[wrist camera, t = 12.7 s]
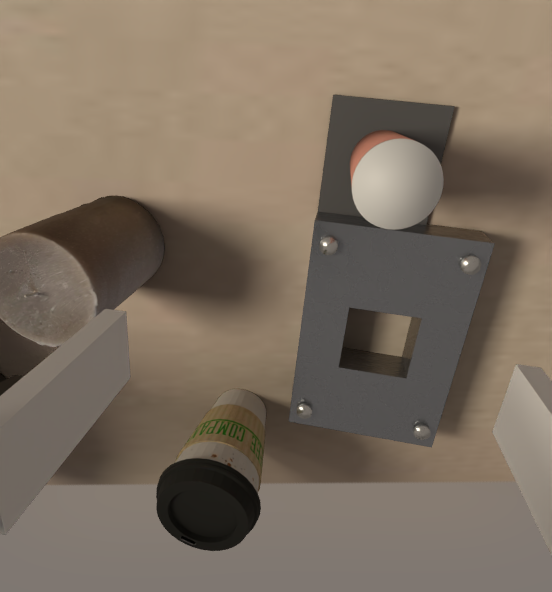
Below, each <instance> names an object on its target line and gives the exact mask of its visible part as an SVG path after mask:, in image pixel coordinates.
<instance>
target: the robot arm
mask: <svg viewBox="0 0 552 592" xmlns="http://www.w3.org/2000/svg"><path fill="white" fill-rule="evenodd" d="M129 379H130V363H129V347H128V332H127V316H126V311H118V310H111V309H104V310H103V311H102V312H101V313H100V314H98V315H97V316H96V317H95V318H94V319H92V320H91V321H90V322H89V323H88V324H86V325H85V326H84V327H83V328H82V329H80V330H79V331H78V332H77V333H76V334H74V335H73V336H72V337H71V338H70V339H68V340H67V341H66V342H65V343H64V344H62V345H61V346H60V347H59V348H58V349H56V350H55V351H54V352H53V353H51V354H50V355H49V356H48V357H47V358H45V359H44V360H43V361H42V362H41V363H39V364H38V365H37V366H36V367H35V368H33V369H32V370H31V371H30V372H29V373H27V374H26V375H25V376H17V375H15V376H13V377H11V378H8V379H6V378H5V377H3V376H2V375H1V374H0V534H3V535H6V534H7V532H8V531H9V530H10V529H11V528H12V526H13V525H14V524H15V522H16V521H17V520H18V519H19V518H20V516H21V515H22V514H23V513H24V511H25V510H26V509H27V507H28V506H29V505H30V504H31V502H32V501H33V500H34V499H35V497H36V496H37V495H38V494H39V492H40V491H41V490H42V489H43V487H44V486H45V485H46V484H47V482H48V481H49V480H50V478H51V477H52V476H53V475H54V473H55V472H56V471H57V470H58V468H59V467H60V466H61V465H62V463H63V462H64V461H65V460H66V458H67V457H68V456H69V455H70V453H71V452H72V451H73V450H74V448H75V447H76V446H77V444H78V443H79V442H80V441H81V439H82V438H83V437H84V436H85V434H86V433H87V432H88V431H89V429H90V428H91V427H92V426H93V424H94V423H95V422H96V421H97V419H98V418H99V417H100V415H101V414H102V413H103V412H104V410H105V409H106V408H107V407H108V405H109V404H110V403H111V402H112V400H113V399H114V398H115V397H116V395H117V394H118V393H119V392H120V390H121V389H122V388H123V387H124V385H125V384H126V383H127V381H128V380H129ZM492 432H493V434H494V436H495V439H496V441H497V443H498V445H499V447H500V449H501V451H502V453H503V455H504V457H505V459H506V462H507V464H508V466H509V468H510V470H511V472H512V474H513V476H514V478H515V480H516V482H517V484H518V487H519V489H520V491H521V492H522V495H523V497H524V499H525V501H526V503H527V505H528V507H529V509H530V512H531V514H532V515H533V518H534V520H535V522H536V524H537V526H538V528H539V530H540V532H541V534H542V537H543V539H544V541H545V543H546V544H547V547H548V549H549V551H550V553H551V555H552V381H551V380H550V378H549V377H548V376H547V375H546V373H545V372H544V371H543V370H542V368H540V367H533V366H525V365H518V364H516V366H515V369H514V372H513V375H512V377H511V380H510V383H509V386H508V389H507V392H506V394H505V397H504V400H503V403H502V406H501V409H500V412H499V414H498V417H497V420H496V423H495V426H494V429H493V431H492Z"/></svg>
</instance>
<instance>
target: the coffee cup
mask: <svg viewBox="0 0 552 592" xmlns="http://www.w3.org/2000/svg"><path fill="white" fill-rule="evenodd" d="M265 422H266V408H265V405H264V403H263V402H262V400H261V399H260V398H259V397H258V396H256V395H255V394H253V393H252V392H249V391H247V390H243V389H232V390H228V391H226V392H224V393H223V394H222V395H221V396H220V397H219V398H218V400H217V401H216V403H215V404H214V406H213V407H212V409H211V410H210V411H209V412H207V414H206V415H205V417H204V418H203V420H202V421H201V422H200V424H199V425H198V427H197V428H196V430H195V431H194V433H193V434H192V435H191V437H190V438H189V440H188V441H187V443H186V444H185V446H184V447H183V449H182V450H181V451H180V453H179V454H178V456H177V458H176V461H175V463H174V464H172V465H170V466H169V467H168V468H167V469H166V470H165V471H164V472H163V473H162V475H161V476H160V479H159V482H158V486H157V496H156V497H157V514H158V517H159V519H160V521H161V523H162V525H163V526H164V527H165V529H166V530H167V531H168V532H169V533H170V534H171V535H172V536H174V537H175V538H177V539H178V540H179V541H181V542H183V543H185V544H187V545H189V546H192V547H195V548H198V549H203V550H210V551H220V550H225V549H229V548H232V547H234V546H236V545H237V544H239V543H240V542H241V541H242V540H243V539H244V538H245V536H246V535H247V534H248V533H249V532H250V531H251V530H252V529H253V527H254V525H255V524H256V522H257V520H258V518H259V515H260V509H261V507H260V499H259V496H258V491H259V489H260V483H261V473H262V463H263V453H264V443H265Z"/></svg>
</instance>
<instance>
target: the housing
mask: <svg viewBox="0 0 552 592" xmlns="http://www.w3.org/2000/svg"><path fill="white" fill-rule="evenodd" d="M494 244H495V243H494V242H493V241H492V240H491V239H489V238H488V237H487V236H486V235H485V234H484V233H483V232H482V231H476V230H468V229H460V228H452V227H445V226H437V225H429V224H426V225H421V224H415V225H413V226H411V227H408V228H404V229H396V230H392V229H384V228H380V227H377V226H375V225H373V224H371V223H370V222H368V221H367V220H366V219H365V218H364V217H358V216H350V215H342V214H334V213H326V212H319V211H318V212H317V215H316V218H315V223H314V231H313V239H312V246H311V254H310V262H309V269H308V277H307V285H306V292H305V300H304V308H303V315H302V323H301V331H300V338H299V346H298V354H297V361H296V369H295V377H294V384H293V392H292V400H291V407H290V415H289V422H294V423H300V424H306V425H311V426H317V427H322V428H328V429H333V430H339V431H344V432H350V433H355V434H361V435H367V436H372V437H378V438H383V439H389V440H394V441H400V442H405V443H411V444H416V445H422V446H427V447H432V445H433V441H434V438H435V435H436V432H437V428H438V425H439V422H440V419H441V415H442V412H443V409H444V406H445V403H446V399H447V396H448V393H449V390H450V386H451V383H452V380H453V377H454V373H455V370H456V367H457V364H458V361H459V357H460V354H461V351H462V348H463V344H464V341H465V338H466V335H467V332H468V328H469V325H470V322H471V319H472V315H473V312H474V309H475V306H476V302H477V299H478V296H479V293H480V290H481V286H482V283H483V280H484V277H485V273H486V270H487V267H488V264H489V260H490V257H491V254H492V251H493V248H494ZM349 307H350V308H356V309H363V310H370V311H376V312H383V313H390V314H396V315H403V316H410V317H412V318H411V322H410V327H409V331H408V335H407V339H406V343H405V347H404V351H403V355H402V357H397V356H391V355H385V354H378V353H372V352H366V351H360V350H353V349H347V348H342V345H343V340H344V334H345V329H346V323H347V317H348V312H349Z"/></svg>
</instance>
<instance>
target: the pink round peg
mask: <svg viewBox="0 0 552 592" xmlns="http://www.w3.org/2000/svg"><path fill="white" fill-rule="evenodd" d="M350 173H351V186H352V195H353V200H354V203H355V205H356V208H357V209H358V211H359V212H360V214H361V215H362V216H363V217H364V218H365V219H366V220H367V221H368V222H370V223H371V224H373V225H375V226H377V227H380V228H384V229H392V230H396V229H404V228H408V227H411V226H413V225H415V224H417V223H419V222H421V221H422V220H423V219H425V218H426V217H427V216H428V215H429V214H430V213H431V212H432V211H433V209H434V208H435V207H436V205H437V203H438V201H439V199H440V197H441V194H442V190H443V182H444V178H443V171H442V167H441V165H440V162H439V160H438V159H437V157H436V156H435V154H434V153H433V152H432V151H431V150H430V149H429V148H427V147H426V146H425V145H423V144H421V143H419V142H417V141H414V140H412V139H410V138H407V137H405V136H403V135H400V134H398V133H396V132H393V131H389V130H378V131H374V132H371V133H369V134H367V135H366V136H364V137H363V138H362V139H361V140H360V141H359V142H358V143H357V144H356V146H355V147H354V149H353V151H352V154H351V158H350Z"/></svg>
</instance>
